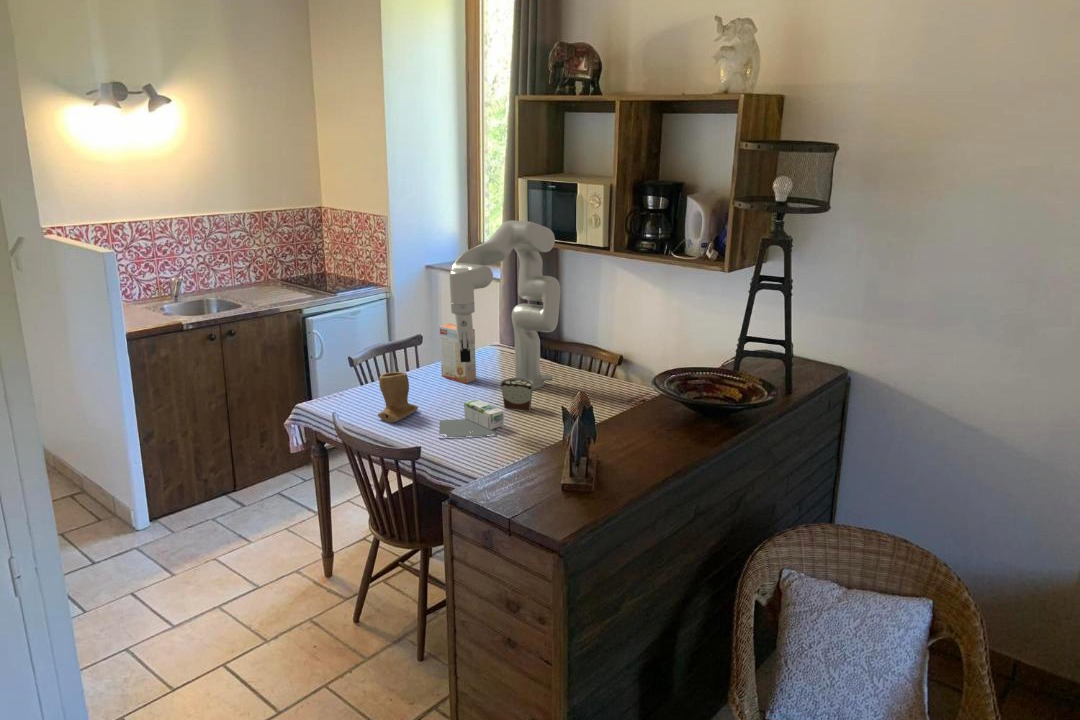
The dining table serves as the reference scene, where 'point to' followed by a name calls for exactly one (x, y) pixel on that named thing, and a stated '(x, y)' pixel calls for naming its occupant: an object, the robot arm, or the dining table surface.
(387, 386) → the stone cup
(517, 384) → the food container
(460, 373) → the cracker box
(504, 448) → the dining table surface
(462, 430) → the mat
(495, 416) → the syrup box
